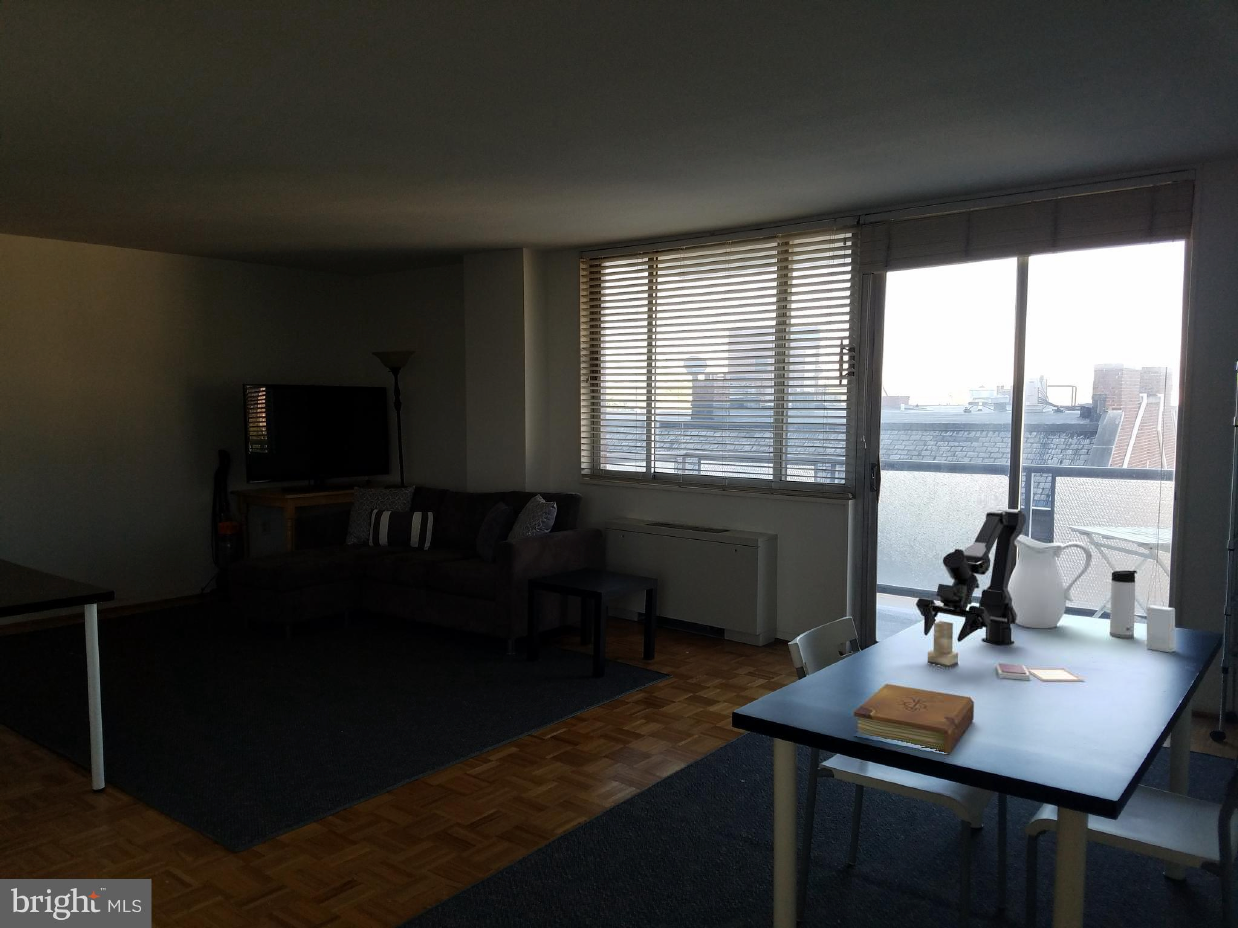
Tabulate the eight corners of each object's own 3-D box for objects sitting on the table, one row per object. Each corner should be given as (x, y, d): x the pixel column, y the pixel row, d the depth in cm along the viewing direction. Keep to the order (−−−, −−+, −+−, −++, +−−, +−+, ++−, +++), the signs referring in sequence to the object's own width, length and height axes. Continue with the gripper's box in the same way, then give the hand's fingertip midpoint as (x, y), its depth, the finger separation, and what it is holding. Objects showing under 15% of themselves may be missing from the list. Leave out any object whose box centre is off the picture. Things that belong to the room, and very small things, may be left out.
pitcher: (998, 624, 276) (1000, 537, 274) (1017, 616, 288) (1018, 532, 287) (1081, 637, 259) (1083, 544, 258) (1096, 627, 272) (1099, 539, 270)
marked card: (1023, 669, 226) (1023, 667, 226) (1063, 669, 226) (1063, 667, 226) (1042, 681, 215) (1042, 679, 215) (1084, 681, 215) (1084, 679, 215)
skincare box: (1175, 650, 245) (1176, 607, 244) (1169, 653, 242) (1170, 610, 241) (1151, 646, 249) (1152, 604, 249) (1145, 648, 247) (1146, 606, 246)
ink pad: (995, 667, 227) (995, 662, 227) (1024, 670, 225) (1024, 664, 225) (999, 677, 218) (999, 671, 218) (1029, 679, 216) (1029, 674, 216)
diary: (949, 758, 167) (949, 729, 167) (853, 739, 177) (853, 711, 177) (973, 723, 187) (973, 696, 186) (886, 707, 197) (886, 682, 196)
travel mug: (1134, 639, 257) (1136, 572, 256) (1109, 636, 260) (1111, 570, 259) (1135, 635, 262) (1137, 569, 261) (1110, 632, 266) (1112, 567, 265)
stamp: (927, 663, 231) (928, 622, 231) (936, 659, 235) (937, 619, 234) (949, 668, 227) (949, 626, 227) (957, 664, 230) (958, 623, 230)
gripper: (919, 568, 240) (898, 613, 233) (986, 577, 226) (966, 625, 219) (933, 593, 245) (912, 638, 238) (999, 603, 232) (979, 651, 225)
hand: (941, 637), depth 230 cm, fingers open, 9 cm apart
